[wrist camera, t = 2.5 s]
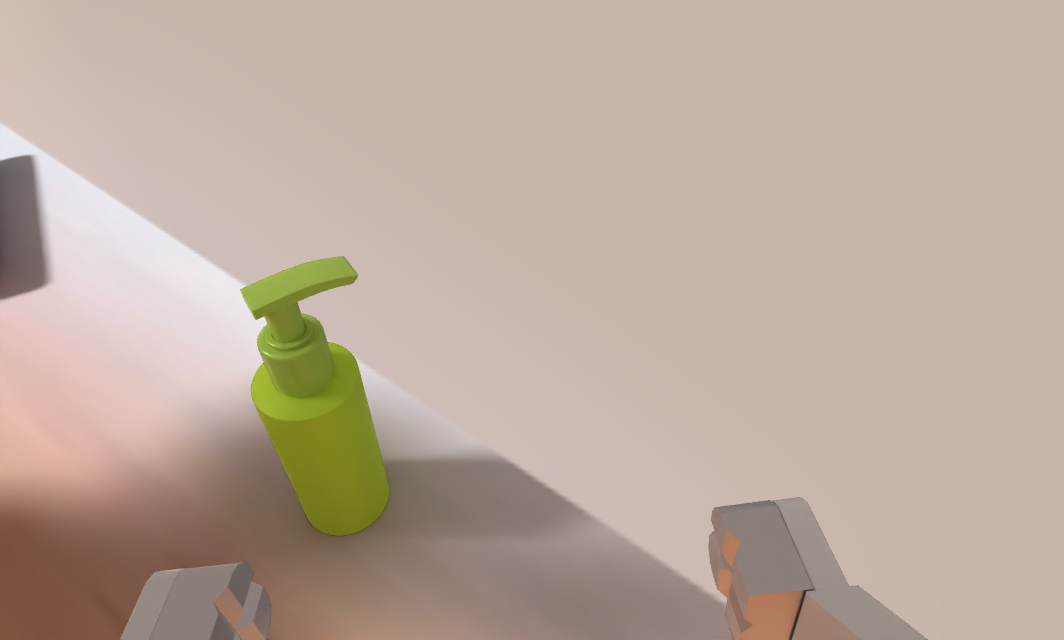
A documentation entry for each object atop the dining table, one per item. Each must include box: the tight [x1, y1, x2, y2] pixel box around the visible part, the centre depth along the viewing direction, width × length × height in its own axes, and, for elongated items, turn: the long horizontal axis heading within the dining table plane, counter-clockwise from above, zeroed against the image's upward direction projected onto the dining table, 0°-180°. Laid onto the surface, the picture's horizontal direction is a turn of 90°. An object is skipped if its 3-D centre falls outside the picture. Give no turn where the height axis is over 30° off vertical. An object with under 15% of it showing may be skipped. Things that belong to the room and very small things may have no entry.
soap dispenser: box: [240, 257, 389, 536], centre depth 38 cm, size 6×7×20 cm
